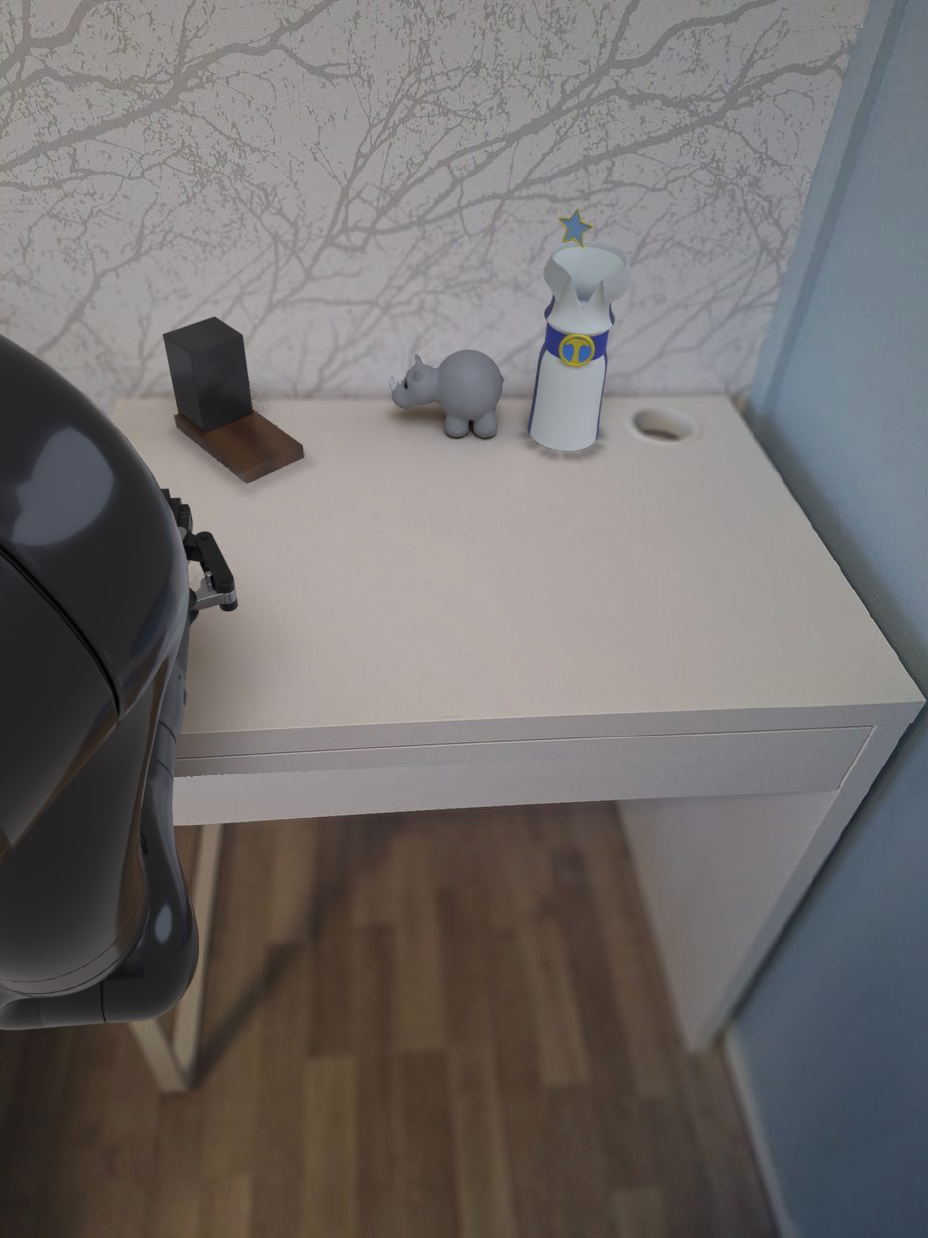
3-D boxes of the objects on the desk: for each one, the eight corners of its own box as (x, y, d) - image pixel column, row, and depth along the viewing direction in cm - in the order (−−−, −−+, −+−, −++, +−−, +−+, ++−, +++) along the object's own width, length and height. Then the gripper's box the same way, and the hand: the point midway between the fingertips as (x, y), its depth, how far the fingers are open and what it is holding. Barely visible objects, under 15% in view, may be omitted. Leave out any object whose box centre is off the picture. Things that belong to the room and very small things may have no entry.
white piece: (604, 457, 97) (649, 216, 79) (523, 449, 97) (551, 208, 80) (603, 414, 103) (645, 182, 85) (527, 407, 103) (553, 174, 86)
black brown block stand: (247, 483, 91) (233, 389, 83) (176, 427, 97) (157, 335, 90) (304, 457, 94) (296, 365, 87) (232, 404, 101) (219, 314, 93)
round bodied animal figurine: (391, 403, 102) (391, 332, 96) (499, 408, 103) (505, 338, 97) (387, 440, 97) (386, 367, 91) (499, 445, 98) (506, 373, 92)
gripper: (233, 633, 54) (238, 461, 66) (-26, 652, 51) (27, 470, 63) (247, 715, 59) (250, 542, 71) (13, 734, 57) (55, 553, 69)
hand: (144, 509), depth 67 cm, fingers closed on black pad, 4 cm apart
